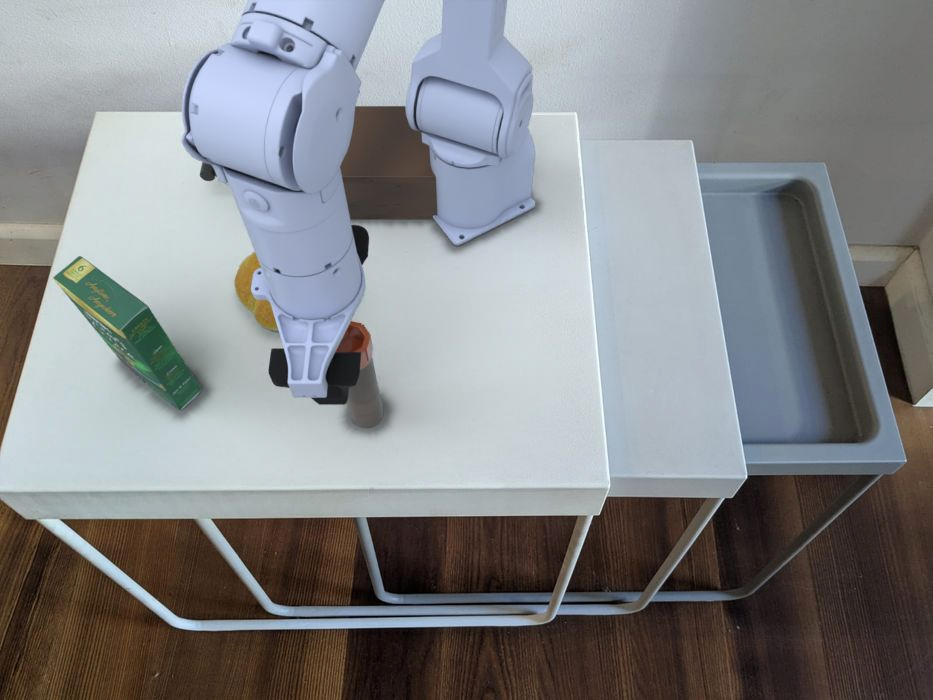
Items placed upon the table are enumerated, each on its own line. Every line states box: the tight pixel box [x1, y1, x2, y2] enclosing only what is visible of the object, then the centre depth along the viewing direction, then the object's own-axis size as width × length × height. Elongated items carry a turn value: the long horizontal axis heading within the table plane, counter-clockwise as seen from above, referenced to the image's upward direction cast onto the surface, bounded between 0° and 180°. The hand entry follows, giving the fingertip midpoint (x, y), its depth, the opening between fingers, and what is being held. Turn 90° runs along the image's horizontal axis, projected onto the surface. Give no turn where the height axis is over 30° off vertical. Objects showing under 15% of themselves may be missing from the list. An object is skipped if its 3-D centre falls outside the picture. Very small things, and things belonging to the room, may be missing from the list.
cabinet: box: [340, 105, 437, 220], centre depth 75 cm, size 12×9×6 cm
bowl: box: [336, 320, 374, 370], centre depth 56 cm, size 3×3×2 cm
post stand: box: [346, 357, 384, 429], centre depth 61 cm, size 3×3×10 cm
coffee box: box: [52, 255, 203, 411], centre depth 61 cm, size 8×3×13 cm, turn 52°
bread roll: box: [234, 251, 279, 332], centre depth 70 cm, size 8×9×4 cm
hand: (336, 352), depth 56 cm, fingers open, 7 cm apart
